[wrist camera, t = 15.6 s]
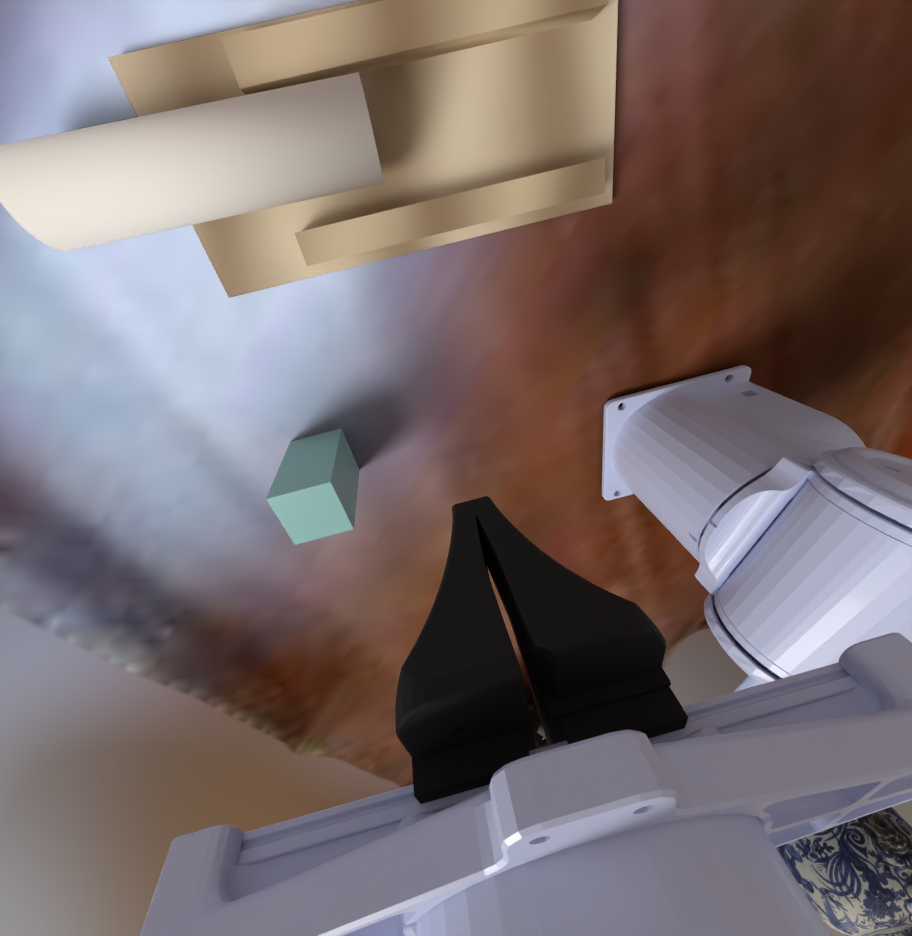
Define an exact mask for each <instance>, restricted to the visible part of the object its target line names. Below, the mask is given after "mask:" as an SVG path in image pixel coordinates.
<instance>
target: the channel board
mask: <svg viewBox="0 0 912 936" xmlns="http://www.w3.org/2000/svg"><path fill="white" fill-rule="evenodd" d="M617 21H618V0H359V1H355V2H351V3H346V4H342V5H337V6H333V7H329V8H324V9H320V10H315V11H311V12H306V13H302V14H298V15H293V16H289V17H284V18H280V19H276V20H271V21H267V22H262V23H258V24H254V25H249V26H245V27H240V28H236V29H231V30H227V31H223V32H218V33H214V34H209V35H205V36H201V37H196V38H192V39H187V40H183V41H179V42H174V43H170V44H165V45H161V46H156V47H152V48H148V49H143V50H139V51H134V52H130V53H126V54H121V55H117V56H112V57H108V59H109V61H110V63H111V65H112V67H113V69H114V71H115V73H116V75H117V77H118V79H119V81H120V83H121V85H122V87H123V89H124V91H125V93H126V95H127V97H128V99H129V101H130V103H131V105H132V107H133V109H134V111H135V112H136V114H137V116H138V117H141V116H146V115H150V114H155V113H160V112H165V111H170V110H175V109H180V108H185V107H190V106H195V105H199V104H204V103H209V102H214V101H219V100H224V99H229V98H234V97H239V96H244V95H249V94H253V93H258V92H263V91H268V90H273V89H278V88H283V87H288V86H293V85H298V84H302V83H307V82H312V81H317V80H322V79H327V78H332V77H337V76H342V75H347V74H351V73H356V72H358V73H359V76H360V80H361V84H362V87H363V92H364V96H365V100H366V104H367V108H368V112H369V117H370V121H371V125H372V130H373V134H374V139H375V143H376V148H377V152H378V157H379V161H380V166H381V171H382V176H383V181H384V183H383V184H379V185H374V186H369V187H365V188H360V189H355V190H351V191H346V192H342V193H337V194H332V195H328V196H323V197H318V198H314V199H309V200H305V201H300V202H295V203H291V204H286V205H281V206H277V207H272V208H268V209H263V210H258V211H254V212H249V213H244V214H240V215H235V216H230V217H226V218H221V219H217V220H212V221H207V222H203V223H198V224H193V227H194V229H195V231H196V233H197V235H198V237H199V239H200V241H201V243H202V245H203V247H204V249H205V251H206V253H207V255H208V257H209V259H210V261H211V263H212V265H213V267H214V269H215V271H216V273H217V275H218V277H219V279H220V281H221V283H222V285H223V287H224V289H225V291H226V293H227V295H228V297H229V298H230V297H234V296H238V295H242V294H246V293H250V292H254V291H258V290H262V289H266V288H270V287H274V286H278V285H283V284H287V283H291V282H295V281H299V280H303V279H307V278H311V277H315V276H319V275H323V274H327V273H331V272H335V271H339V270H343V269H347V268H351V267H356V266H360V265H364V264H368V263H372V262H376V261H380V260H384V259H388V258H392V257H396V256H400V255H404V254H408V253H412V252H416V251H420V250H424V249H429V248H433V247H437V246H441V245H445V244H449V243H453V242H457V241H461V240H465V239H469V238H473V237H477V236H481V235H485V234H489V233H493V232H497V231H502V230H506V229H510V228H514V227H518V226H522V225H526V224H530V223H534V222H538V221H542V220H546V219H550V218H554V217H558V216H562V215H566V214H570V213H575V212H579V211H583V210H587V209H591V208H595V207H599V206H603V205H607V204H611V203H612V190H613V156H614V122H615V89H616V55H617Z"/></svg>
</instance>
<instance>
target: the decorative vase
mask: <svg viewBox="0 0 912 936" xmlns="http://www.w3.org/2000/svg"><path fill="white" fill-rule="evenodd" d="M776 849H777V850H778V852H779V854H780V855H781V857H782V858H783V860H784V861H785V863H786V865H787V866H788V868H789V869H790V871H791V873H792V874H793V876H794V877H795V879H796V880H797V882H798V884H799V885H800V887H801V888H802V890H803V891H804V893H805V895H806V896H807V898H808V899H809V901H810V902H811V904H812V906H813V907H814V909H815V910H816V912H817V913H818V915H819V917H820V918H821V920H822V921H823V922H825V923H826V924H827V925H829V926H830V927H831V928H833V929H834V930H836V931H838V932H840V933H842V934H845V935H847V936H912V827H911V826H910V825H909V824H908V823H907V822H906V821H905V820H904V819H903V818H902V817H901V816H900V815H899V814H898V813H897V812H896V811H895V810H894V809H893V808H892V807H889V808H886V809H883V810H880V811H877V812H875V813H872V814H869V815H866V816H863V817H860V818H857V819H854V820H852V821H849V822H846V823H843V824H840V825H838V826H835V827H832V828H829V829H826V830H823V831H821V832H818V833H815V834H812V835H809V836H807V837H804V838H801V839H798V840H795V841H792V842H790V843H787V844H784V845H781V846H778V847H776Z"/></svg>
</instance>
